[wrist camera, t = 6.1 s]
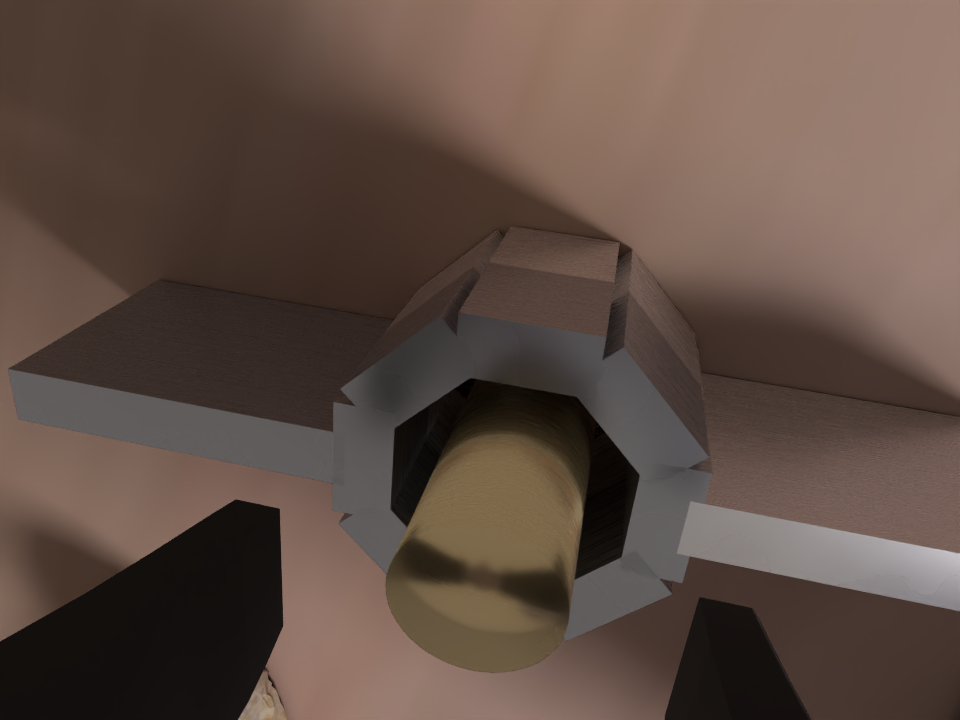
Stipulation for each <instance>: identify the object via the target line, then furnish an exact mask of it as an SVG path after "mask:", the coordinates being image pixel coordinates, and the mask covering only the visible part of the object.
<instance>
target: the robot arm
mask: <svg viewBox="0 0 960 720" xmlns="http://www.w3.org/2000/svg"><path fill="white" fill-rule="evenodd" d="M282 627H283V603H282V570H281V537H280V509H279V508H274V507H269V506H264V505H260V504H255V503H250V502H245V501H241V500H234V501H233V502H231V503H229V504H228V505H226V506H224V507H223V508H221V509H219V510H218V511H216V512H214V513H213V514H211V515H210V516H208V517H207V518H205V519H203V520H202V521H200V522H199V523H197V524H196V525H194V526H192V527H191V528H189V529H188V530H186V531H185V532H183V533H182V534H180V535H178V536H177V537H175V538H174V539H172V540H171V541H169V542H167V543H166V544H164V545H163V546H161V547H160V548H158V549H156V550H155V551H153V552H152V553H150V554H149V555H147V556H145V557H144V558H142V559H140V560H139V561H137V562H136V563H134V564H132V565H131V566H129V567H127V568H126V569H124V570H123V571H121V572H119V573H118V574H116V575H115V576H113V577H111V578H110V579H108V580H106V581H105V582H103V583H102V584H100V585H98V586H97V587H95V588H94V589H92V590H90V591H89V592H87V593H85V594H84V595H82V596H80V597H78V598H77V599H75V600H73V601H71V602H69V603H68V604H66V605H64V606H62V607H61V608H59V609H57V610H55V611H54V612H52V613H50V614H48V615H46V616H45V617H43V618H41V619H39V620H38V621H36V622H34V623H32V624H30V625H29V626H27V627H25V628H23V629H22V630H20V631H18V632H16V633H15V634H13V635H11V636H9V637H7V638H6V639H4V640H2V641H0V720H238V719H239V717H240V715H241V714H242V712H243V710H244V709H245V707H246V705H247V703H248V702H249V700H250V698H251V696H252V694H253V692H254V690H255V687H256V685H257V683H258V681H259V679H260V677H261V675H262V673H263V670H264V668H265V666H266V664H267V662H268V659H269V657H270V655H271V652H272V650H273V648H274V646H275V643H276V641H277V639H278V637H279V634H280V632H281V630H282ZM665 720H811V719H810V717H809V715H808V713H807V711H806V709H805V707H804V706H803V704H802V702H801V700H800V698H799V696H798V694H797V692H796V691H795V689H794V687H793V685H792V683H791V681H790V679H789V677H788V675H787V673H786V671H785V670H784V668H783V666H782V664H781V662H780V660H779V658H778V656H777V654H776V652H775V650H774V648H773V646H772V644H771V642H770V640H769V638H768V636H767V634H766V632H765V630H764V628H763V626H762V624H761V621H760V619H759V617H758V616H757V615H756V613H755V612H754V610H753V609H752V608H749V607H744V606H739V605H734V604H730V603H725V602H720V601H715V600H711V599H706V598H701V597H699V601H698V604H697V607H696V611H695V614H694V618H693V621H692V625H691V628H690V631H689V635H688V638H687V642H686V645H685V649H684V652H683V655H682V659H681V662H680V666H679V669H678V673H677V676H676V680H675V683H674V686H673V690H672V693H671V697H670V700H669V704H668V707H667V710H666V714H665Z"/></svg>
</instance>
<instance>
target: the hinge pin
mask: <svg viewBox="0 0 960 720" xmlns="http://www.w3.org/2000/svg"><path fill="white" fill-rule="evenodd" d="M596 422H597V421H596V420H595V419H594V418H593V416H592V415H591V414H590V413H589V411H588V410H587V409H586V408H585V406H584V405H583V404H582V403H581V401H580V400H579V399H578V398H577V397H575V396H569V395H564V394H558V393H553V392H547V391H541V390H536V389H530V388H525V387H519V386H513V385H508V384H502V383H497V382H491V381H486V380H480V379H476V380H475V382H474V384H473V386H472V388H471V391H470V393H469V395H468V397H467V399H466V401H465V404H464V406H463V408H462V410H461V412H460V414H459V417H458V419H457V421H456V423H455V425H454V427H453V430H452V432H451V434H450V436H449V438H448V440H447V443H446V445H445V447H444V449H443V451H442V453H441V456H440V458H439V460H438V462H437V464H436V466H435V469H434V471H433V473H432V475H431V477H430V479H429V482H428V484H427V486H426V488H425V490H424V492H423V495H422V497H421V499H420V501H419V503H418V505H417V508H416V510H415V512H414V514H413V516H412V518H411V520H410V523H409V525H408V527H407V529H406V531H405V533H404V536H403V538H402V540H401V542H400V544H399V546H398V549H397V551H396V553H395V555H394V557H393V559H392V562H391V564H390V566H389V569H388V572H387V576H386V596H387V600H388V604H389V607H390V609H391V612H392V614H393V616H394V618H395V620H396V621H397V623H398V624H399V626H400V627H401V629H402V630H403V631H404V632H405V633H406V634H407V636H408V637H409V638H410V639H411V640H412V641H414V642H415V643H416V644H417V645H418V646H419V647H421V648H422V649H423V650H425V651H426V652H428V653H429V654H431V655H433V656H434V657H436V658H438V659H440V660H442V661H444V662H446V663H449V664H452V665H454V666H457V667H460V668H464V669H468V670H473V671H479V672H490V673H498V672H509V671H516V670H520V669H523V668H527V667H529V666H532V665H534V664H536V663H538V662H540V661H541V660H543V659H545V658H546V657H547V656H548V655H550V654H551V653H552V652H553V651H554V650H555V649H556V648H557V647H558V645H559V644H560V642H561V641H562V639H563V637H564V635H565V633H566V630H567V626H568V622H569V616H570V608H571V601H572V594H573V587H574V580H575V572H576V565H577V558H578V551H579V544H580V537H581V529H582V522H583V515H584V508H585V501H586V494H587V486H588V479H589V472H590V465H591V458H592V451H593V443H594V436H595V429H596Z"/></svg>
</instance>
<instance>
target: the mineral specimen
mask: <svg viewBox="0 0 960 720" xmlns="http://www.w3.org/2000/svg"><path fill="white" fill-rule="evenodd" d="M271 685H272V683H271V682H270V681H269V679H268V675H267V671H266V670H265V669H264V670H263V673H262V675H261V677H260V679H259V681H258V683H257V685H256V687H255V690H254V692H253V694H252V696H251V698H250V700H249V702H248V703H247V705H246V707H245V709H244V710H243V712H242V714H241V715H240V717H239V719H238V720H287V719H286V715H285V711H284V709H283V707H282V705H281V703H280V700H279V696H278V693H277V691H276V690H275V689H274V688H273V687H272V686H271Z"/></svg>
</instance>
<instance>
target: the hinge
mask: <svg viewBox="0 0 960 720" xmlns="http://www.w3.org/2000/svg"><path fill="white" fill-rule="evenodd" d="M619 245H620V242H615V241H608V240H601V239H595V238H588V237H581V236H575V235H568V234H561V233H555V232H548V231H541V230H535V229H528V228H521V227H515V226H511V227H510V228H509V230H508V232H507V233H506V235H505V237H503V236H502V235H501V233H500V232H499V231H498V230H496V231H494V232H493V233H492V234H490V235H489V236H488V237H486V238H485V239H484V240H483V241H481V242H480V243H479V244H477V245H476V246H475V247H473V248H472V249H471V250H469V251H468V252H467V253H465V254H464V255H463V256H461V257H460V258H459V259H457V260H456V261H455V262H453V263H452V264H451V265H449V266H448V267H447V268H446V269H444V270H443V271H442V272H440V273H439V274H438V275H436V276H435V277H434V278H432V279H431V280H430V281H428V282H427V283H426V284H424V285H423V286H422V287H420V288H419V289H418V291H417V292H416V293H415V294H414V296H413V297H412V298H411V299H410V301H409V302H408V303H407V304H406V306H405V307H404V308H403V310H402V311H401V312H400V313H399V315H398V316H397V317H396V318H395V320H389V319H383V318H377V317H371V316H366V315H360V314H354V313H348V312H342V311H336V310H330V309H325V308H319V307H313V306H307V305H301V304H295V303H289V302H284V301H278V300H272V299H266V298H260V297H254V296H248V295H243V294H237V293H231V292H225V291H219V290H213V289H208V288H202V287H196V286H190V285H184V284H178V283H172V282H167V281H161V280H158V281H156V282H155V283H153V284H151V285H150V286H148V287H146V288H145V289H143V290H141V291H139V292H138V293H136V294H134V295H133V296H131V297H129V298H128V299H126V300H124V301H122V302H121V303H119V304H117V305H116V306H114V307H112V308H111V309H109V310H107V311H105V312H104V313H102V314H100V315H99V316H97V317H95V318H94V319H92V320H90V321H89V322H87V323H85V324H83V325H82V326H80V327H78V328H77V329H75V330H73V331H72V332H70V333H68V334H66V335H65V336H63V337H61V338H60V339H58V340H56V341H55V342H53V343H51V344H49V345H48V346H46V347H44V348H43V349H41V350H39V351H38V352H36V353H34V354H33V355H31V356H29V357H27V358H26V359H24V360H22V361H21V362H19V363H17V364H16V365H14V366H12V367H10V368H9V369H8V372H9V376H10V381H11V386H12V391H13V396H14V401H15V406H16V411H17V415H18V419H19V420H23V421H28V422H33V423H38V424H43V425H48V426H53V427H58V428H63V429H68V430H73V431H77V432H82V433H87V434H92V435H97V436H102V437H107V438H112V439H117V440H122V441H127V442H131V443H136V444H141V445H146V446H151V447H156V448H161V449H166V450H171V451H176V452H181V453H185V454H190V455H195V456H200V457H205V458H210V459H215V460H220V461H225V462H230V463H235V464H239V465H244V466H249V467H254V468H259V469H264V470H269V471H274V472H279V473H284V474H289V475H293V476H298V477H303V478H308V479H313V480H318V481H323V482H328V483H333V511H338V512H343V513H345V514H344V515H343V517H342V519H341V520H340V522H339V525H340V526H341V527H342V528H343V529H344V530H345V531H346V532H347V533H348V534H349V535H350V537H351V538H352V539H353V540H354V541H355V542H356V543H357V544H358V545H359V546H360V547H361V548H362V549H363V550H364V551H365V552H366V553H367V554H368V556H369V557H370V558H371V559H372V560H373V561H374V562H375V563H376V564H377V565H378V566H379V567H380V568H381V569H382V570H383V571H384V572H385V574H386V575H387V572H388V569H389V566H390V564H391V562H392V559H393V557H394V555H395V553H396V551H397V549H398V546H399V544H400V542H401V540H402V538H403V536H404V533H405V531H406V529H407V527H408V525H409V523H410V520H411V518H412V516H413V514H414V512H415V510H416V508H417V505H418V503H419V501H420V499H421V497H422V495H423V492H424V490H425V488H426V486H427V484H428V482H429V479H430V477H431V475H432V473H433V471H434V469H435V466H436V464H437V462H438V460H439V458H440V456H441V453H442V451H443V449H444V447H445V445H446V443H447V440H448V438H449V436H450V434H451V432H452V430H453V427H454V425H455V423H456V421H457V419H458V417H459V414H460V412H461V410H462V408H463V406H464V404H465V401H466V399H465V398H464V397H463V396H462V395H461V394H460V392H459V391H458V390H457V389H456V387H457V386H459V385H460V384H462V383H463V382H465V381H466V380H468V379H469V378H474V379H480V380H486V381H491V382H497V383H502V384H508V385H513V386H519V387H525V388H530V389H536V390H541V391H547V392H553V393H558V394H564V395H569V396H575V397H577V398H578V399H579V400H580V401H581V403H582V404H583V405H584V406H585V408H586V409H587V410H588V411H589V413H590V414H591V415H592V416H593V418H594V419H595V420H596V421H597V422H598V424H599V425H600V426H601V427H602V429H603V430H604V431H605V432H603V433H602V434H600V435H598V436H596V437H595V438H594V443H593V451H592V458H591V465H590V472H589V479H588V486H587V494H586V501H585V508H584V515H583V522H582V529H581V537H580V544H579V551H578V558H577V565H576V572H575V580H574V587H573V594H572V601H571V608H570V616H569V622H568V626H567V630H566V633H565V635H564V637H563V638H564V639H565V640H566V641H568V640H571V639H573V638H575V637H577V636H580V635H582V634H584V633H586V632H589V631H591V630H593V629H595V628H598V627H600V626H602V625H604V624H606V623H609V622H611V621H613V620H615V619H618V618H620V617H622V616H624V615H627V614H629V613H631V612H633V611H636V610H638V609H640V608H642V607H645V606H647V605H649V604H651V603H654V602H656V601H658V600H660V599H663V598H665V597H667V596H669V595H672V581H673V582H678V583H683V579H684V576H685V572H686V568H687V565H688V561H689V557H690V556H691V557H696V558H701V559H706V560H711V561H716V562H720V563H725V564H730V565H735V566H740V567H745V568H750V569H755V570H760V571H765V572H770V573H774V574H779V575H784V576H789V577H794V578H799V579H804V580H809V581H814V582H819V583H824V584H828V585H833V586H838V587H843V588H848V589H853V590H858V591H863V592H868V593H873V594H877V595H882V596H887V597H892V598H897V599H902V600H907V601H912V602H917V603H922V604H927V605H931V606H936V607H941V608H946V609H951V610H956V611H960V417H957V416H951V415H945V414H939V413H933V412H928V411H922V410H916V409H910V408H904V407H898V406H892V405H887V404H881V403H875V402H869V401H863V400H857V399H851V398H846V397H840V396H834V395H828V394H822V393H816V392H810V391H805V390H799V389H793V388H787V387H781V386H775V385H769V384H764V383H758V382H752V381H746V380H740V379H734V378H729V377H723V376H717V375H711V374H705V373H701V369H700V361H699V352H698V346H696V337H695V333H694V332H693V330H692V329H691V327H690V326H689V325H688V323H687V322H686V321H685V319H684V318H683V317H682V315H681V314H680V313H679V311H678V310H677V309H676V307H675V306H674V305H673V303H672V302H671V301H670V299H669V298H668V297H667V295H666V294H665V293H664V291H663V290H662V289H661V287H660V286H659V285H658V283H657V282H656V281H655V279H654V278H653V276H652V275H651V274H650V272H649V271H648V270H647V268H646V267H645V266H644V264H643V263H642V262H641V260H640V259H639V258H638V256H637V255H636V254H635V252H634V251H633V250H631V251H630V252H629V253H627V254H626V255H624V256H623V257H621V258H620V259H618V252H619ZM617 259H618V260H617Z"/></svg>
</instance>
